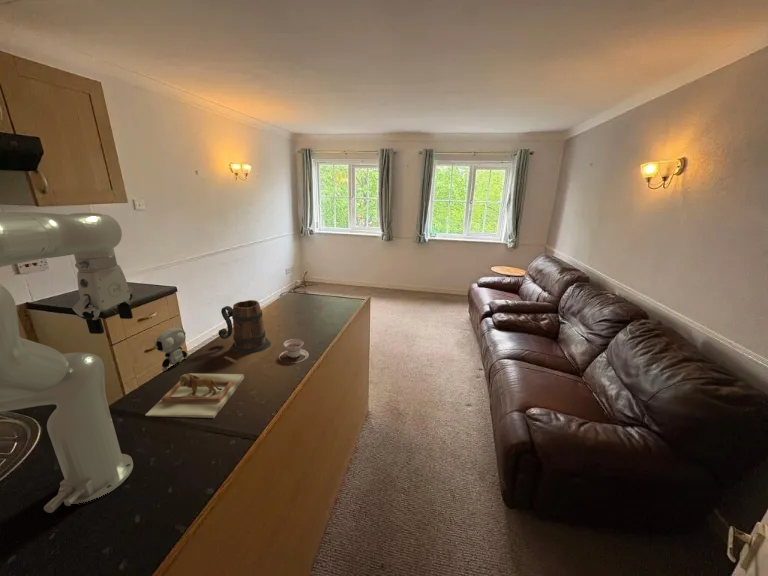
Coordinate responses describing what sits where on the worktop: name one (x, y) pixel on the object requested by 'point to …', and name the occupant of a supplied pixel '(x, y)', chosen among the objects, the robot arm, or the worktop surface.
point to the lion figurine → (197, 382)
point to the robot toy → (171, 346)
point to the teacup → (295, 349)
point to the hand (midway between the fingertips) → (112, 325)
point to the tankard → (245, 327)
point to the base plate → (197, 398)
